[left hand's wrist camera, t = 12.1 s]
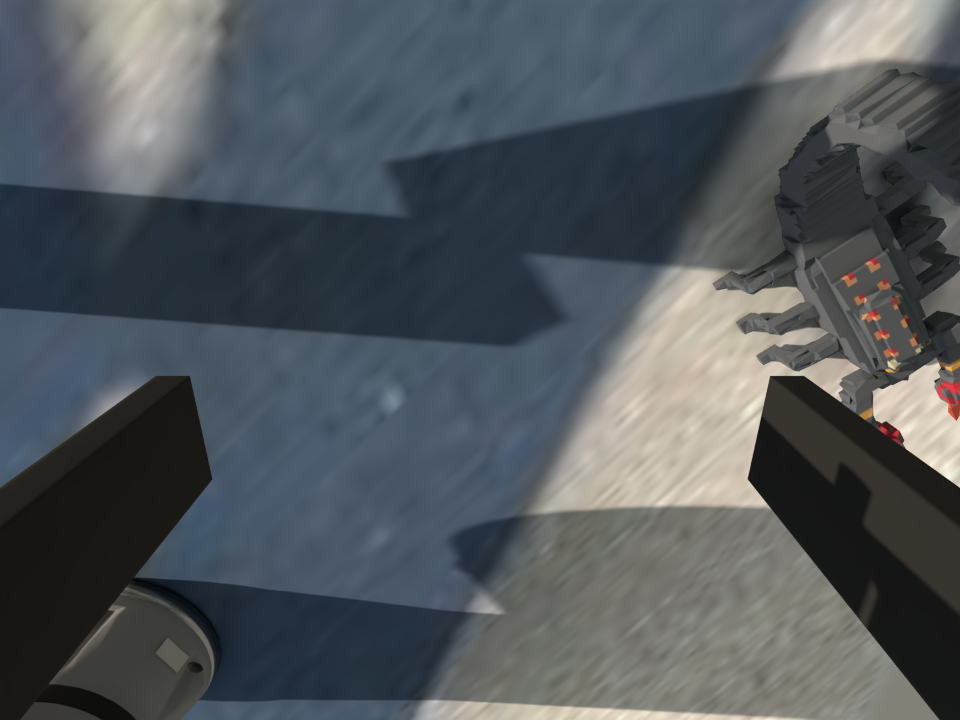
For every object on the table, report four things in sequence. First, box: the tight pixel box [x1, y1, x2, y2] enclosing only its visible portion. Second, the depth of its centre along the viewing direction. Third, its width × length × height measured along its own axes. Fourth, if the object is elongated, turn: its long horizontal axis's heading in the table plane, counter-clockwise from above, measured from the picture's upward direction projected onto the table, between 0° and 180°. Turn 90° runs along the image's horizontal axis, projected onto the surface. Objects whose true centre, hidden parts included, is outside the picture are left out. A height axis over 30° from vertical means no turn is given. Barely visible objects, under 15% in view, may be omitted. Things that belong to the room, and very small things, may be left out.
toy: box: [713, 69, 960, 449], centre depth 29 cm, size 13×27×18 cm, turn 37°
